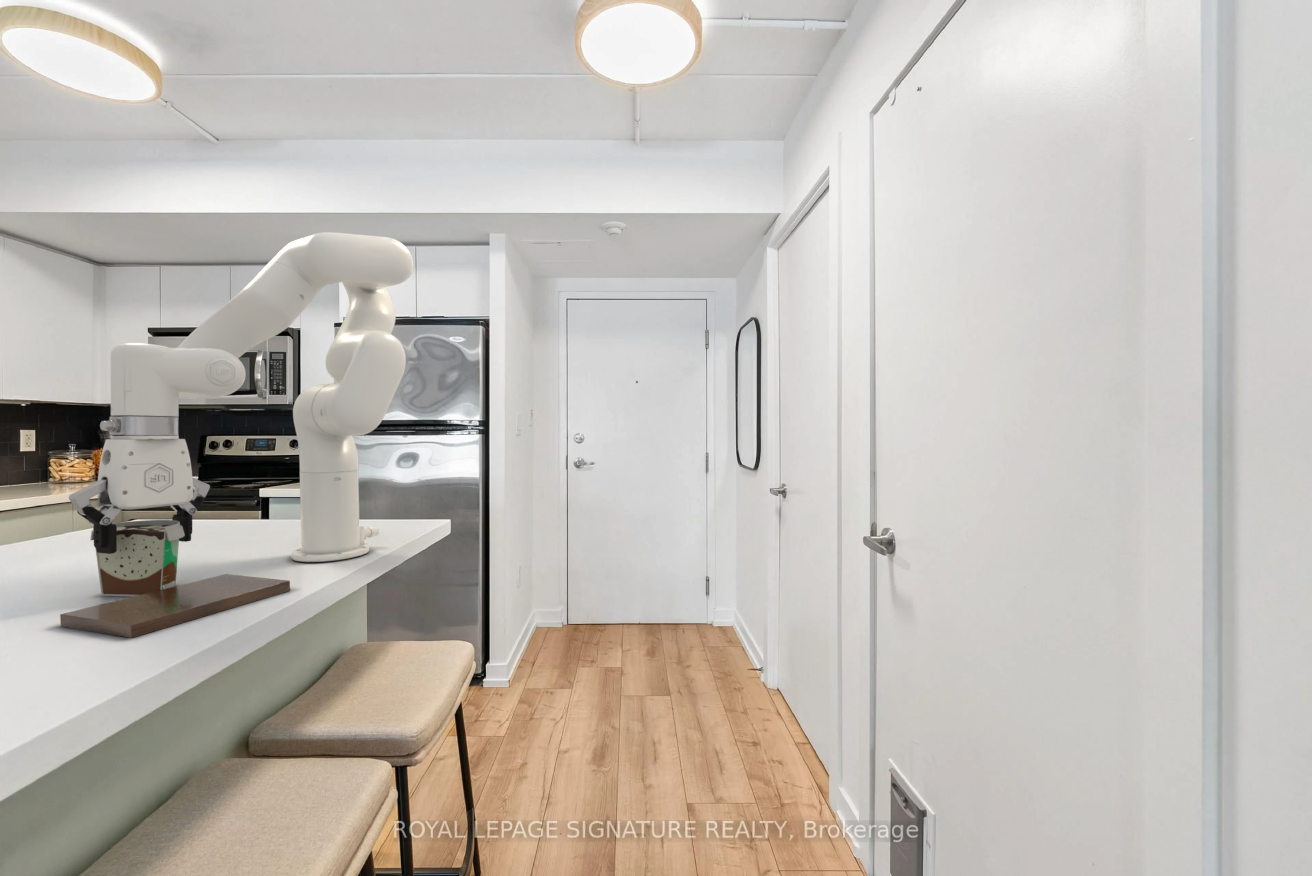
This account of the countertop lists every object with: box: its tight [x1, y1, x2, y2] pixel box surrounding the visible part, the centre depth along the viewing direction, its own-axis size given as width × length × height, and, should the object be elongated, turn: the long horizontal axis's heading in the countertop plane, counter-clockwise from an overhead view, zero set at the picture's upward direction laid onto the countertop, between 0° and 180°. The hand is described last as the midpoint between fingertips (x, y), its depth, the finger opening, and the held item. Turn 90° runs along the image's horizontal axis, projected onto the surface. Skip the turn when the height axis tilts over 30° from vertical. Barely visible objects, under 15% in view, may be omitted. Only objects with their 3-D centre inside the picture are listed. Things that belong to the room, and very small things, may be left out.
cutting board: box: [59, 573, 291, 638], centre depth 79 cm, size 20×13×2 cm, turn 161°
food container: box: [90, 519, 185, 597], centre depth 87 cm, size 12×6×10 cm, turn 84°
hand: (146, 546), depth 87 cm, fingers open, 9 cm apart
